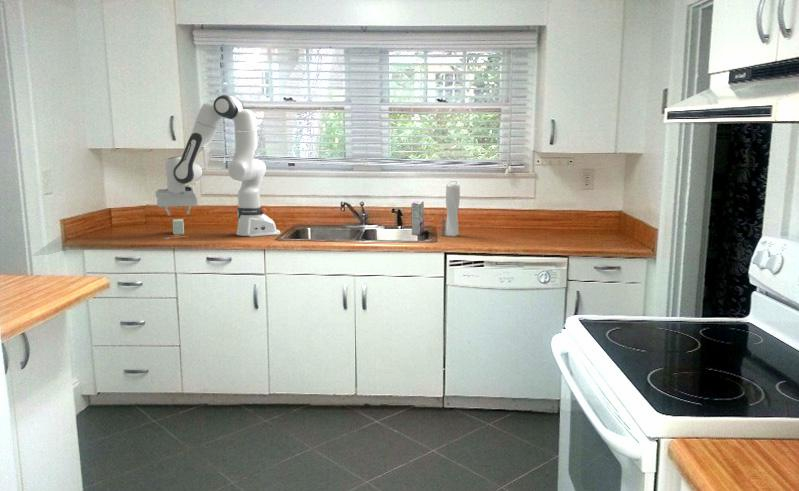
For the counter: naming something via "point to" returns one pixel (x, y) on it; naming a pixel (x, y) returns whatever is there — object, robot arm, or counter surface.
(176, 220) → the sage block
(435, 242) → the counter surface
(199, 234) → the counter surface
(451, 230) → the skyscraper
